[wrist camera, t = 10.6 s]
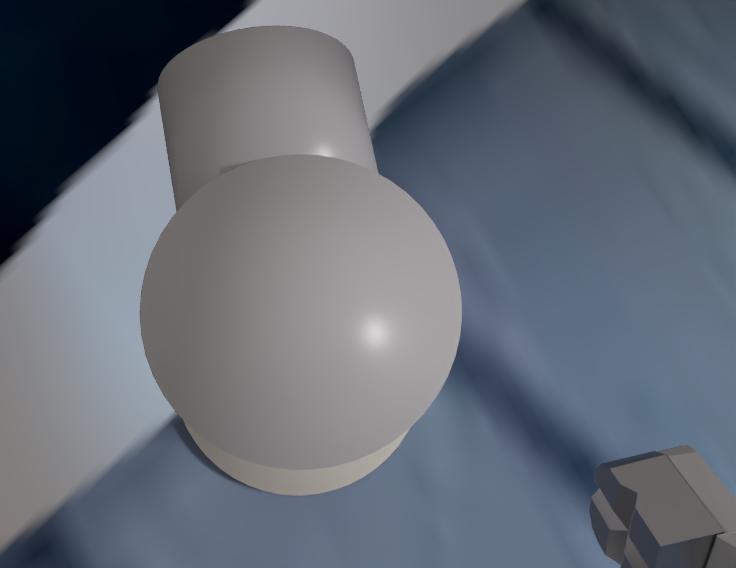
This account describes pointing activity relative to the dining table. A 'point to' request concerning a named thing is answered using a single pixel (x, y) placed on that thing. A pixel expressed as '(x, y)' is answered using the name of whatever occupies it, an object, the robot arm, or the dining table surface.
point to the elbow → (290, 260)
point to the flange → (293, 479)
